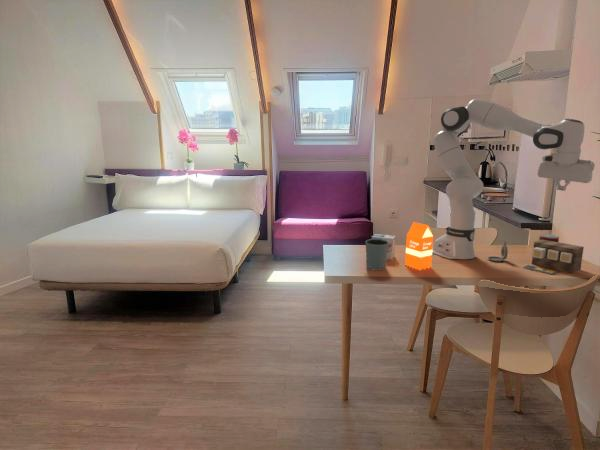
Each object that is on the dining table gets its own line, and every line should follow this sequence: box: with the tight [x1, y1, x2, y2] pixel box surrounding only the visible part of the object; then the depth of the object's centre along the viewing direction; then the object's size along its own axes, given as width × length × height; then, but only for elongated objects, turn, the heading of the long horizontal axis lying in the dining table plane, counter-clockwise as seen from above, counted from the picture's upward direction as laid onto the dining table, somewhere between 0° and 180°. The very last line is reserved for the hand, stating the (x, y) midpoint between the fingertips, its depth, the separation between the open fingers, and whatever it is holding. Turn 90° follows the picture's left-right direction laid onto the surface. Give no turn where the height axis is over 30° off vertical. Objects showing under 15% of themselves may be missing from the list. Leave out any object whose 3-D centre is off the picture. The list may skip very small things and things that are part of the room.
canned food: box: [538, 233, 560, 242], centre depth 199 cm, size 8×8×11 cm
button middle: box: [547, 249, 560, 260], centre depth 183 cm, size 4×7×4 cm, turn 128°
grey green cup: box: [365, 238, 388, 271], centre depth 184 cm, size 10×10×12 cm
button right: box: [560, 251, 574, 263], centre depth 179 cm, size 4×7×4 cm, turn 128°
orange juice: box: [404, 221, 434, 271], centre depth 184 cm, size 8×9×20 cm
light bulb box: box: [371, 233, 396, 261], centre depth 200 cm, size 11×7×11 cm, turn 68°
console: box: [531, 239, 585, 274], centre depth 185 cm, size 17×8×10 cm, turn 38°
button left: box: [531, 246, 548, 259], centre depth 186 cm, size 4×7×4 cm, turn 128°
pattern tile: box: [522, 264, 558, 276], centre depth 181 cm, size 12×5×1 cm, turn 38°
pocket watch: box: [487, 240, 508, 263], centre depth 194 cm, size 8×8×10 cm
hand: (561, 190), depth 178 cm, fingers closed
